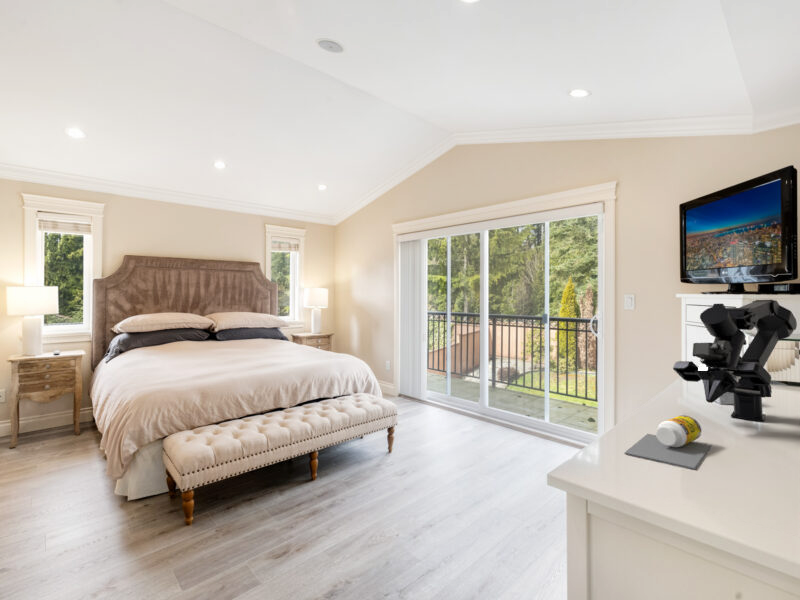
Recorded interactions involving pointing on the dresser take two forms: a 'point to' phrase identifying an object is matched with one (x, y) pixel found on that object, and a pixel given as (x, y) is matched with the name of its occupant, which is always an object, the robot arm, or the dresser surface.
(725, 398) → the medicine box
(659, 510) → the dresser surface
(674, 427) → the supplement bottle
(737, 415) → the robot arm
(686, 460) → the mat
